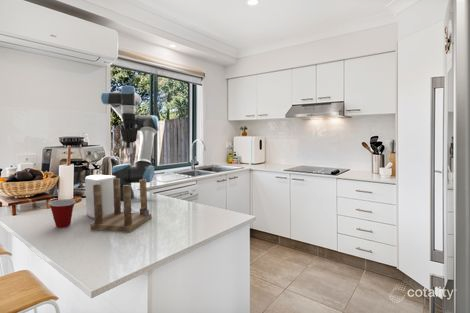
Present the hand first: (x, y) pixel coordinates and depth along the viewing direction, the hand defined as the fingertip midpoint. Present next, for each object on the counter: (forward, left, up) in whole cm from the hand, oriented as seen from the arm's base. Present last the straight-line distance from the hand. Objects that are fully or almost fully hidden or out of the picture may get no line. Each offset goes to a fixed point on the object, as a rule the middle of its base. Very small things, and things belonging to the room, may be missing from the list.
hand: (130, 153), depth 157 cm
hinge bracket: (+12, +24, -30) cm, 41 cm away
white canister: (+19, -4, -33) cm, 38 cm away
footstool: (+22, +20, -32) cm, 44 cm away
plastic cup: (+38, -2, -33) cm, 50 cm away
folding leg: (+12, +25, -28) cm, 39 cm away
